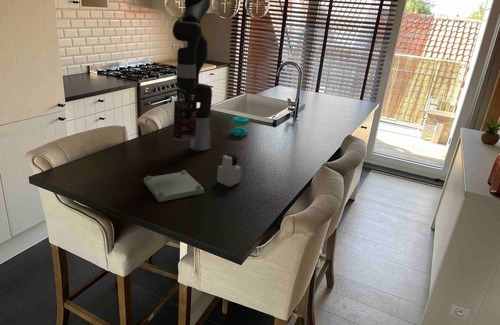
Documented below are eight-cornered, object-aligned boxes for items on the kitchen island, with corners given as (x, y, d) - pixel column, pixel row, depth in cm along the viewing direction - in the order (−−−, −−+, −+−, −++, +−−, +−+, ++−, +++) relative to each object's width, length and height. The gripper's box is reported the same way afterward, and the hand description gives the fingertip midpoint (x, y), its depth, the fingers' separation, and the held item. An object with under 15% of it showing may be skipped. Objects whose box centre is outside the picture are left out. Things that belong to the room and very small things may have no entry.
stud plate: (185, 175, 156) (185, 169, 155) (203, 193, 143) (204, 186, 141) (144, 182, 147) (143, 175, 146) (159, 202, 133) (159, 194, 132)
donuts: (232, 115, 217) (249, 116, 217) (231, 131, 221) (248, 132, 221) (231, 119, 208) (248, 121, 208) (230, 136, 212) (247, 137, 212)
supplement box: (181, 141, 148) (181, 103, 142) (173, 138, 150) (173, 100, 145) (196, 137, 154) (197, 100, 149) (188, 135, 157) (189, 98, 151)
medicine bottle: (228, 177, 158) (229, 151, 154) (240, 182, 154) (242, 156, 150) (216, 181, 153) (218, 155, 149) (229, 187, 149) (230, 160, 145)
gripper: (202, 78, 139) (201, 121, 145) (187, 73, 151) (187, 112, 157) (184, 78, 136) (183, 122, 142) (170, 72, 147) (170, 113, 153)
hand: (185, 117), depth 149 cm, fingers closed on supplement box, 6 cm apart
